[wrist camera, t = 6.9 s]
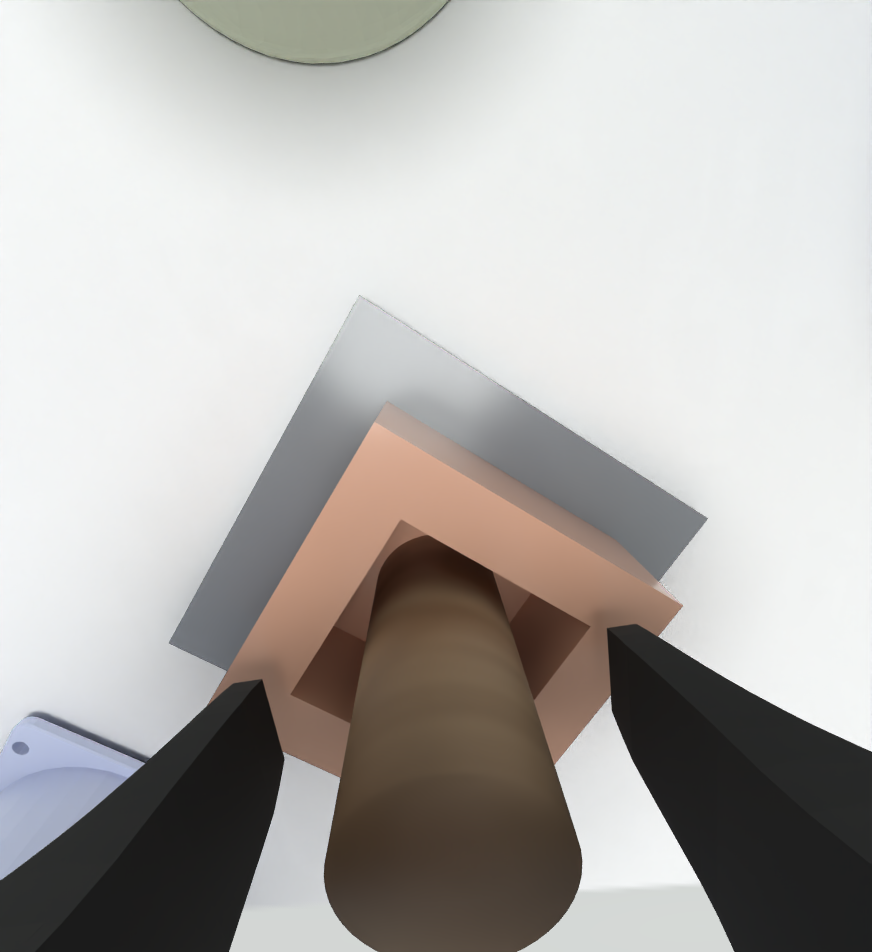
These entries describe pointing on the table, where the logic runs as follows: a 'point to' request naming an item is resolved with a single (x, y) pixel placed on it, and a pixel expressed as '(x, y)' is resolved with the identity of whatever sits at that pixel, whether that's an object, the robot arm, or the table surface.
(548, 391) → the table surface
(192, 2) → the can
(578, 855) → the walnut peg
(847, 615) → the table surface
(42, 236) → the table surface
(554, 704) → the terracotta holder
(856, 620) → the table surface
